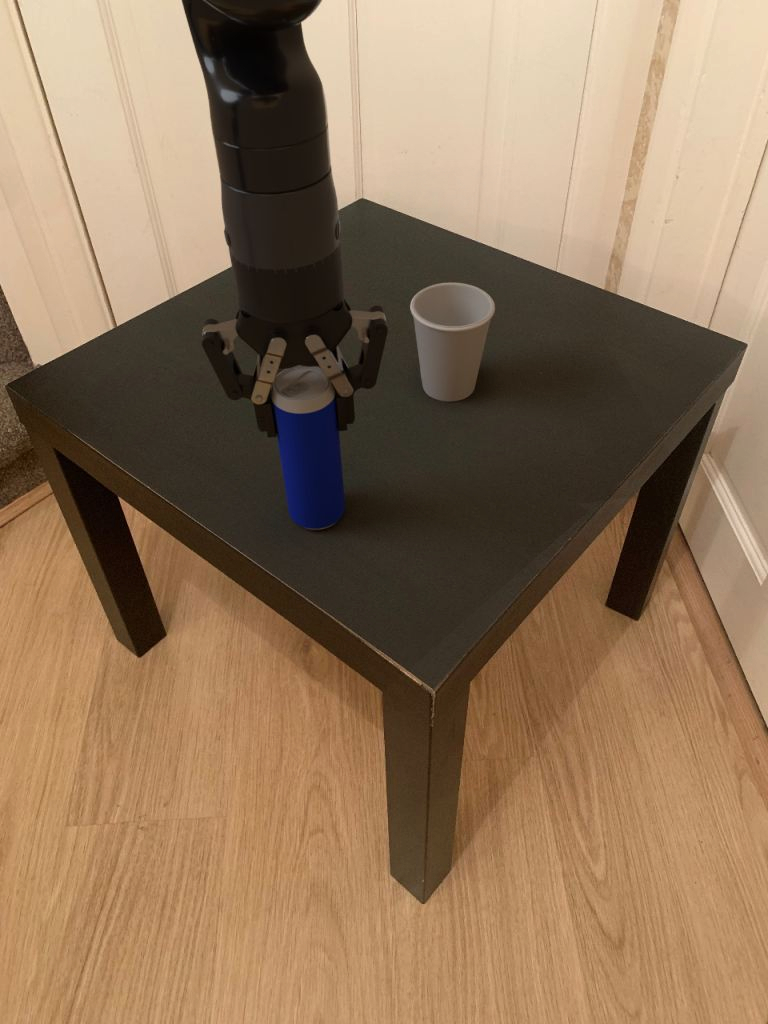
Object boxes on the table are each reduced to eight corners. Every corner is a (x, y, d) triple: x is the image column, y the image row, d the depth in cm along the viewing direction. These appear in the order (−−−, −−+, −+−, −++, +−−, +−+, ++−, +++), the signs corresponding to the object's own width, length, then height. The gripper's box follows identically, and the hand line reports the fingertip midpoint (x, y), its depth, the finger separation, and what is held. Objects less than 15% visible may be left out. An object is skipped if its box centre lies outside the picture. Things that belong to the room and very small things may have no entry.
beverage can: (319, 484, 76) (305, 354, 65) (356, 512, 73) (348, 382, 62) (278, 512, 73) (255, 382, 62) (314, 542, 71) (298, 412, 60)
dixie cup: (417, 414, 82) (418, 332, 75) (404, 365, 88) (403, 285, 81) (496, 405, 83) (504, 323, 76) (477, 357, 89) (484, 277, 81)
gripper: (384, 202, 56) (388, 392, 68) (179, 217, 55) (221, 406, 68) (396, 256, 51) (398, 450, 63) (171, 273, 50) (218, 466, 63)
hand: (307, 426), depth 65 cm, fingers closed on beverage can, 5 cm apart
